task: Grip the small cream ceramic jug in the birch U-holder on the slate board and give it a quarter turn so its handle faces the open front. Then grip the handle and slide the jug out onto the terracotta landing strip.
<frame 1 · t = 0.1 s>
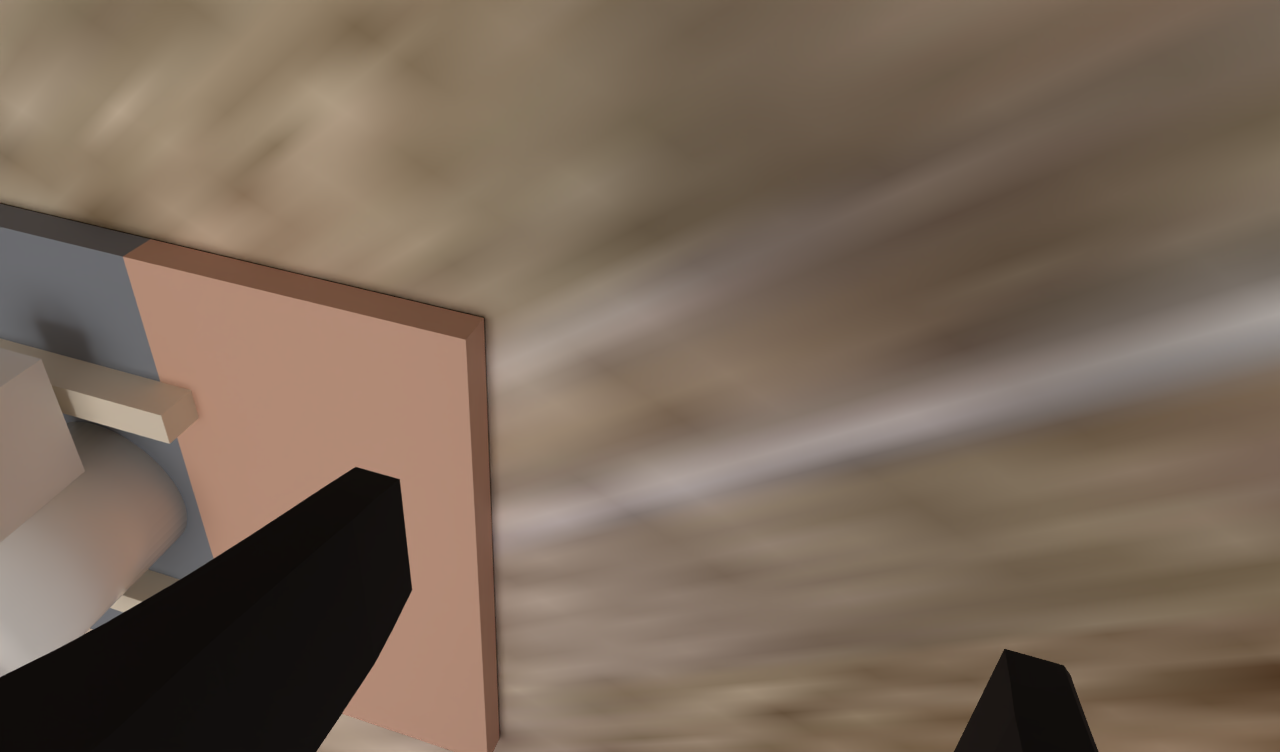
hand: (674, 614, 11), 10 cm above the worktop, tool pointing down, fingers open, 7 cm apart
jug holder: (219, 488, 30), on the worktop
jug: (117, 484, 30), point 1 cm above the worktop, touching jug holder
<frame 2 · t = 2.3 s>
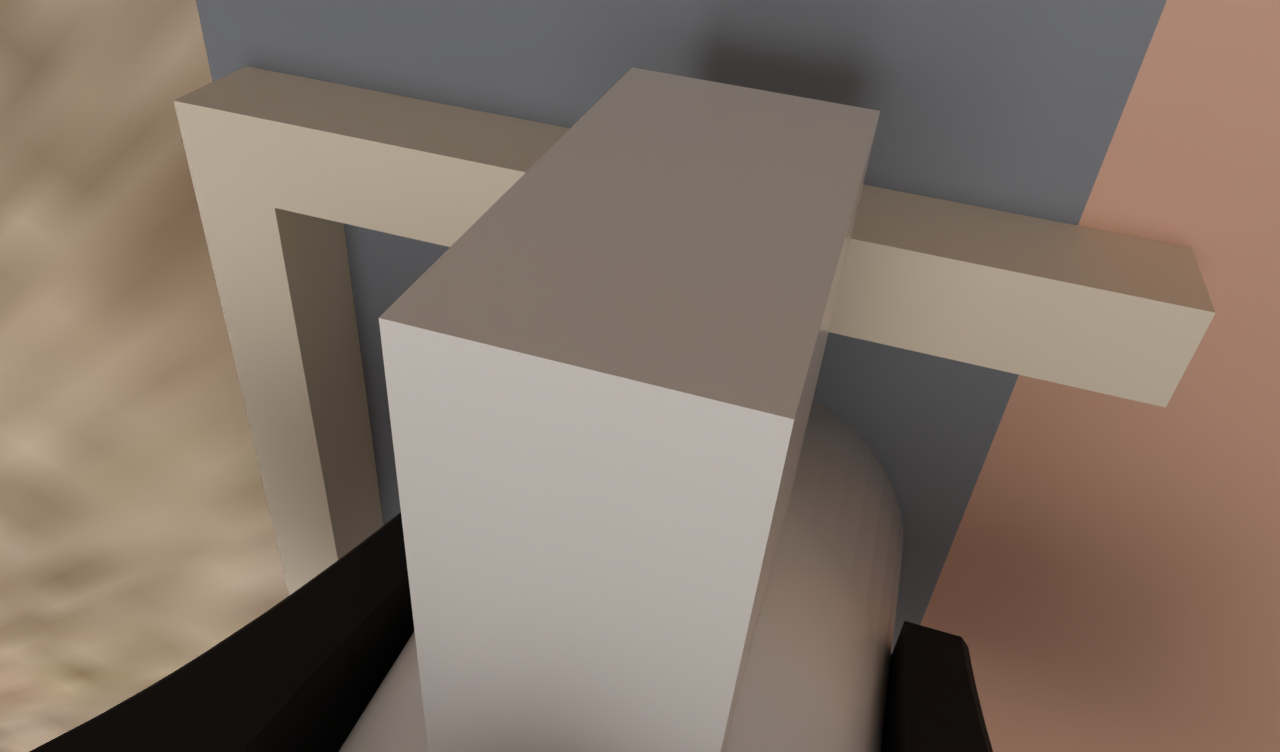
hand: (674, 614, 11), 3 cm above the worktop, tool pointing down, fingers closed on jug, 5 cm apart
jug holder: (941, 525, 13), on the worktop
jug: (708, 517, 12), point 1 cm above the worktop, touching gripper, jug holder
when the fingers open (3 cm above the worktop, at t = 5.3 s): jug stays where it is, resting on jug holder.
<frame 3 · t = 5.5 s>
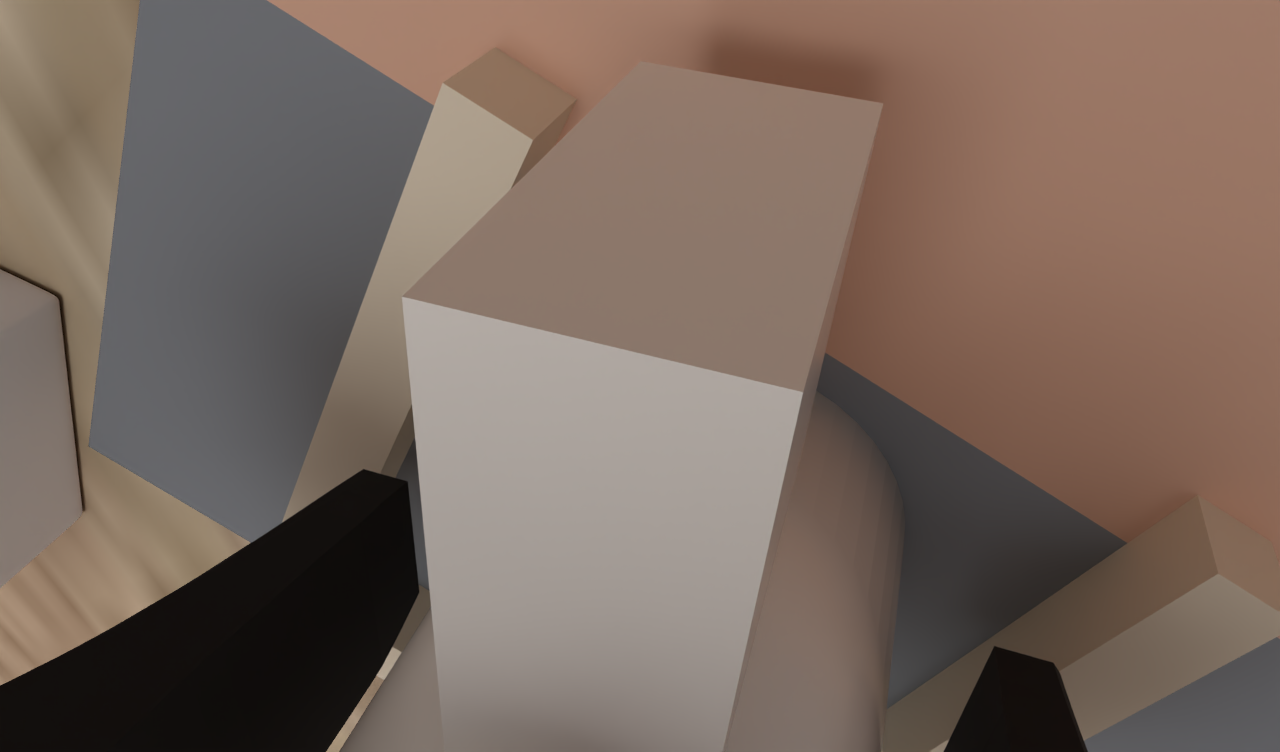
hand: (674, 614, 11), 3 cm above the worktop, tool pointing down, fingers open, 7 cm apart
jug holder: (850, 317, 11), on the worktop
jug: (712, 508, 12), point 1 cm above the worktop, touching jug holder
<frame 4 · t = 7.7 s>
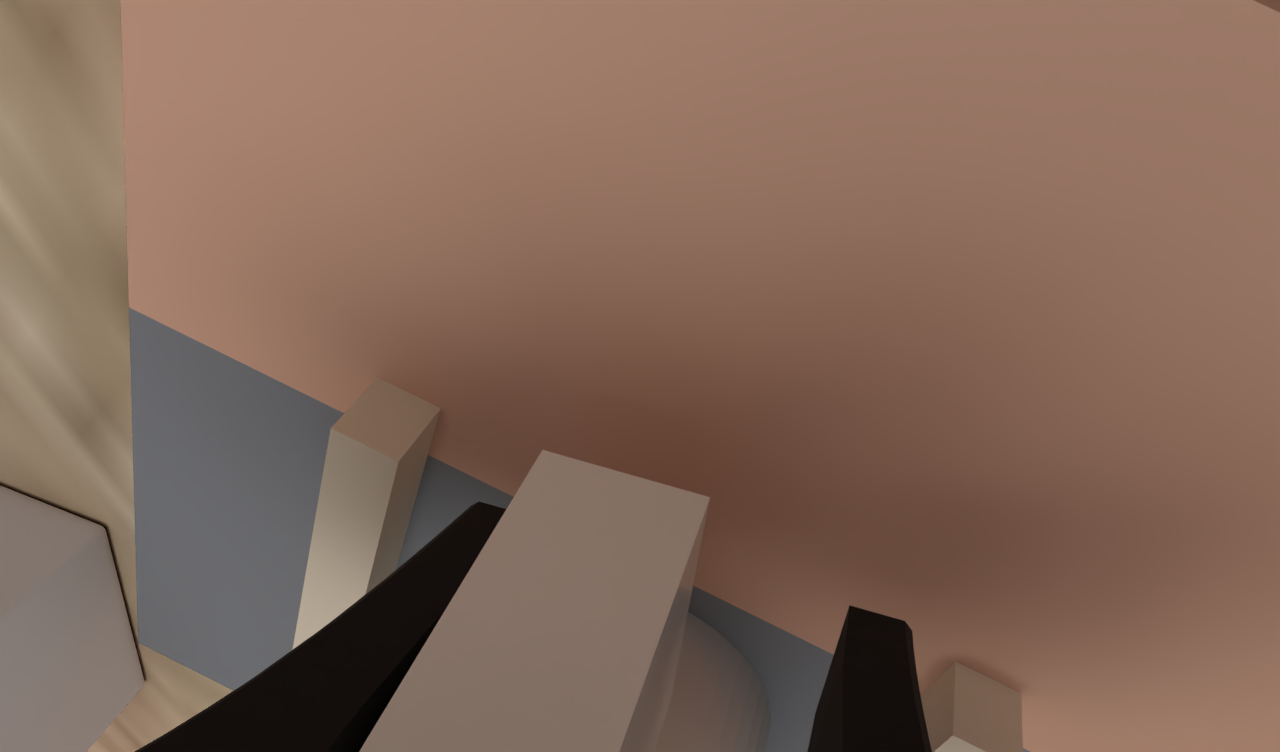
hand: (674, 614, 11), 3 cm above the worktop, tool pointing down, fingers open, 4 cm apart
jug holder: (688, 528, 14), on the worktop
jug: (622, 686, 16), point 1 cm above the worktop, touching gripper, jug holder
milk: (25, 559, 22), on the worktop
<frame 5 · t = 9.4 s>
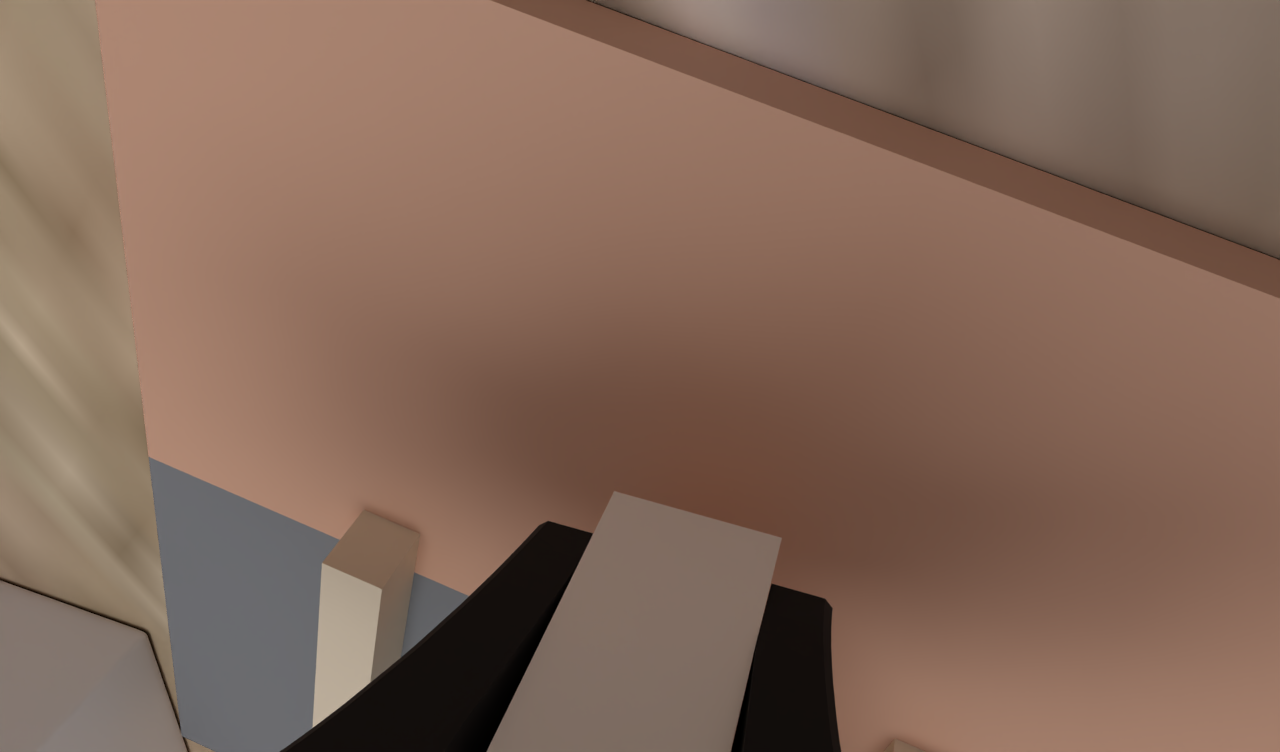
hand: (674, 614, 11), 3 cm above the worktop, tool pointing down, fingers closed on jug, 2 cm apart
jug holder: (653, 622, 16), on the worktop
jug: (669, 725, 16), point 1 cm above the worktop, touching gripper, jug holder
milk: (79, 661, 24), on the worktop
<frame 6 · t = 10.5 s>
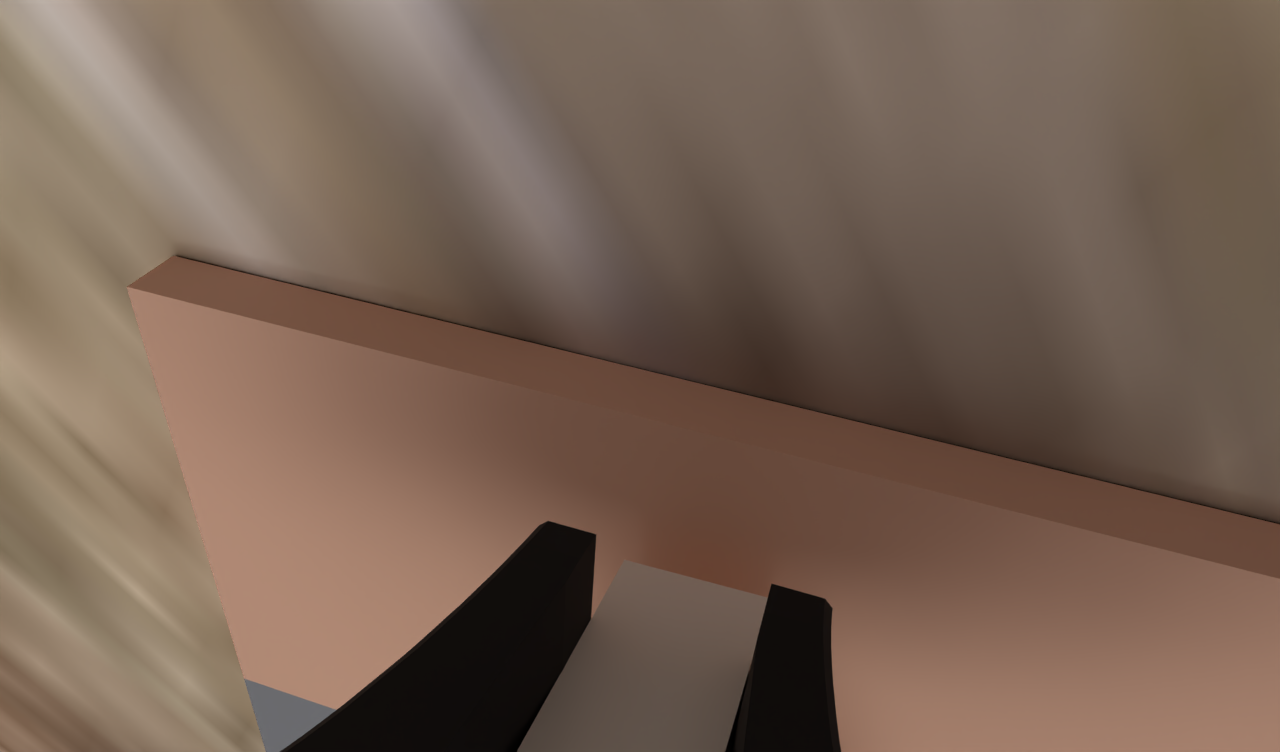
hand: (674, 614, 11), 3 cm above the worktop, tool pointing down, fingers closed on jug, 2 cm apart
when the fingers open (3 cm above the worktop, at t = 11.7 s): jug stays where it is, resting on jug holder.
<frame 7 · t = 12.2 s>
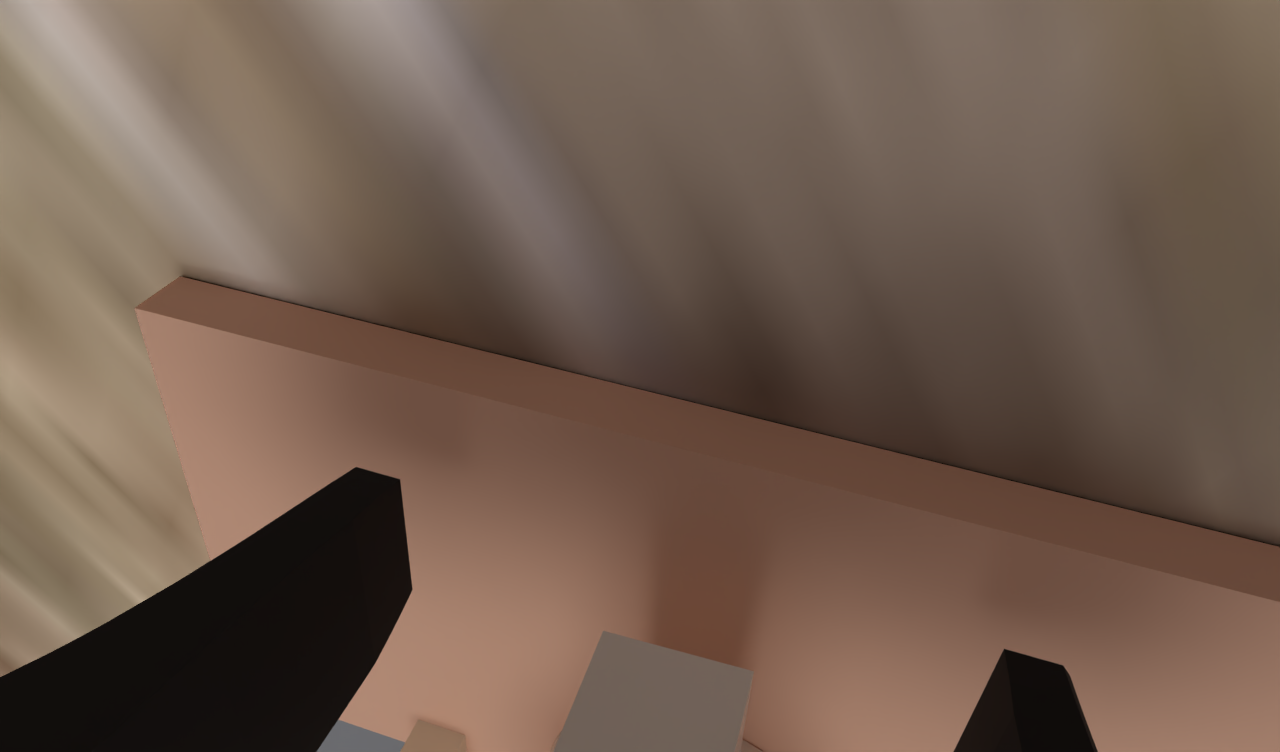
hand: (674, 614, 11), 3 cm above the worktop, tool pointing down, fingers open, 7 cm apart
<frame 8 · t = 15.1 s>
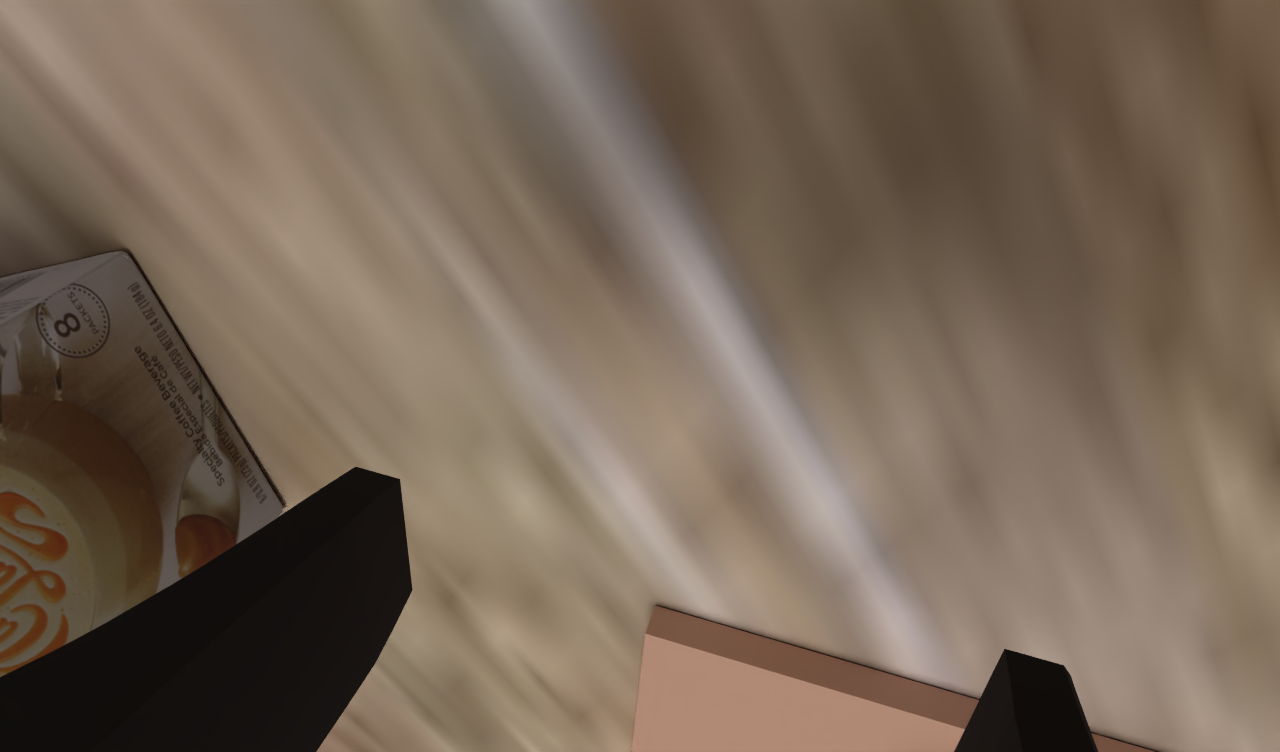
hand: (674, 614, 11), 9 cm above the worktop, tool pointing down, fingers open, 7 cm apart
coffee box: (145, 392, 27), on the worktop
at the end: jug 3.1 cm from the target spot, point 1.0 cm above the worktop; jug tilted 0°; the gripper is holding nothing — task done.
